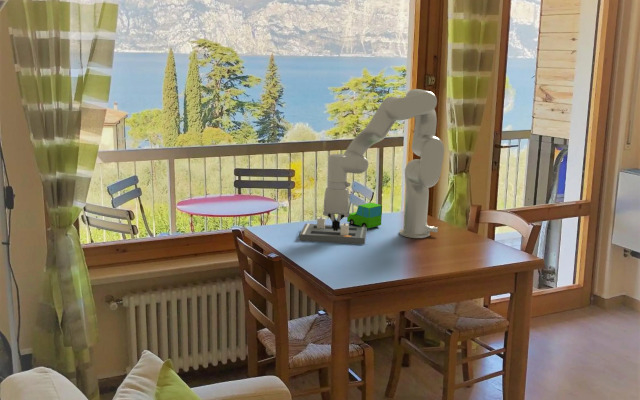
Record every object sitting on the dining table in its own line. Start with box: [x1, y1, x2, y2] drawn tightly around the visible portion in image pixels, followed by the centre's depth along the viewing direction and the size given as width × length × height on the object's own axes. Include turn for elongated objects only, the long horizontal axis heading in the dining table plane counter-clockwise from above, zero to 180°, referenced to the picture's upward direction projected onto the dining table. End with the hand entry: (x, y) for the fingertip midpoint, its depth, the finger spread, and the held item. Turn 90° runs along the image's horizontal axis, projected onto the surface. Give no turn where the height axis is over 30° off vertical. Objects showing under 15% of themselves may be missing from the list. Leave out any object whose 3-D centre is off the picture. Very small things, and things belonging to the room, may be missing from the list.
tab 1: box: [316, 216, 326, 229], centre depth 264 cm, size 3×3×5 cm
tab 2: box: [340, 222, 350, 235], centre depth 256 cm, size 3×3×5 cm
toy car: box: [346, 202, 383, 230], centre depth 277 cm, size 10×13×10 cm
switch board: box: [298, 222, 368, 245], centre depth 261 cm, size 26×16×3 cm, turn 83°
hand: (335, 229), depth 256 cm, fingers closed
